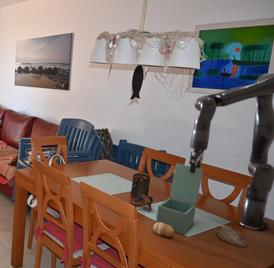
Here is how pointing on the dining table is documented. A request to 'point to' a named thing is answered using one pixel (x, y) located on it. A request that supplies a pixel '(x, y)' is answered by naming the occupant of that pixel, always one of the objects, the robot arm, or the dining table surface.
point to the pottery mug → (148, 202)
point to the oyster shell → (230, 236)
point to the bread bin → (176, 214)
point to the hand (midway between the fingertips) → (194, 171)
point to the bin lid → (186, 183)
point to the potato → (163, 229)
